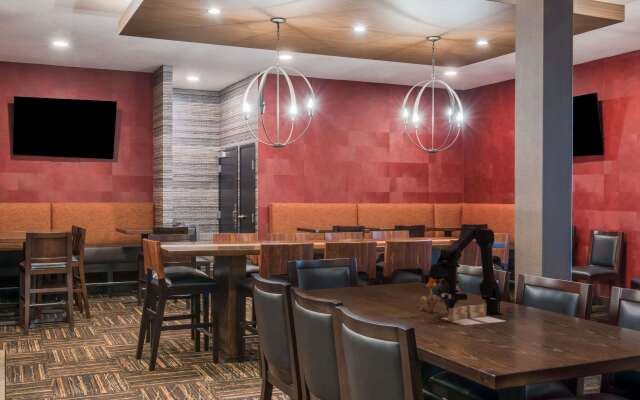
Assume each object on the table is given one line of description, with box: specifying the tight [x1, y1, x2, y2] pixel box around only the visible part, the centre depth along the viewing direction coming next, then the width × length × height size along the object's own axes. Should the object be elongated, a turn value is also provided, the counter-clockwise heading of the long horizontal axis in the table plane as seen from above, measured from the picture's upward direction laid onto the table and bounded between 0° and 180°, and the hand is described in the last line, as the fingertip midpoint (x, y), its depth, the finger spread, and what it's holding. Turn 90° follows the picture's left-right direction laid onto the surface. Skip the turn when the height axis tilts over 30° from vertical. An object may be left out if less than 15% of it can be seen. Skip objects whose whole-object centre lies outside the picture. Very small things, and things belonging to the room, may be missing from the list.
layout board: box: [440, 315, 506, 326], centre depth 304 cm, size 22×17×1 cm
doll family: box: [425, 277, 461, 304], centre depth 357 cm, size 21×10×13 cm, turn 34°
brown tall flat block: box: [447, 304, 470, 322], centre depth 304 cm, size 13×2×6 cm, turn 133°
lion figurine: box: [416, 294, 440, 314], centre depth 327 cm, size 15×5×9 cm, turn 35°
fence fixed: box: [469, 302, 487, 318], centre depth 310 cm, size 9×2×6 cm, turn 114°
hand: (449, 313), depth 303 cm, fingers closed
